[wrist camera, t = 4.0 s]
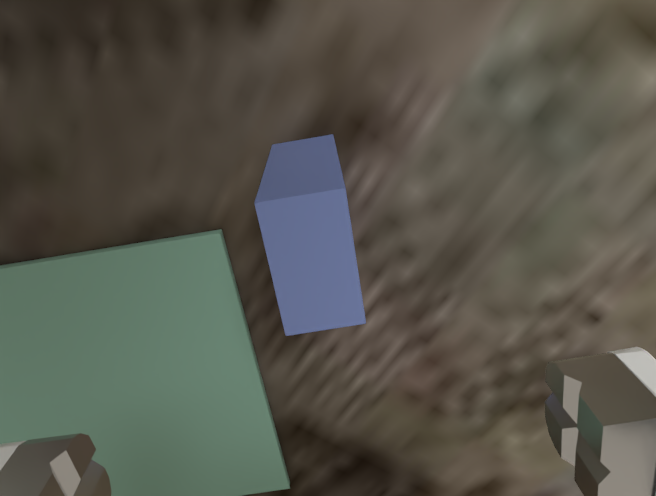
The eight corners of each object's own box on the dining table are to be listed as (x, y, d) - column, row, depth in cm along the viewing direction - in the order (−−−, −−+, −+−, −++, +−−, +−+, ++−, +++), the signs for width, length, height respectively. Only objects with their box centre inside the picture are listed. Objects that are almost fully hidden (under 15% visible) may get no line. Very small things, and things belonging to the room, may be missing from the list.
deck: (271, 144, 19) (253, 203, 13) (333, 134, 19) (346, 187, 13) (292, 241, 21) (285, 336, 15) (349, 232, 21) (366, 323, 14)
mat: (-100, 282, 21) (-108, 286, 21) (221, 229, 20) (219, 232, 20) (40, 518, 27) (36, 525, 27) (289, 482, 27) (289, 488, 26)
